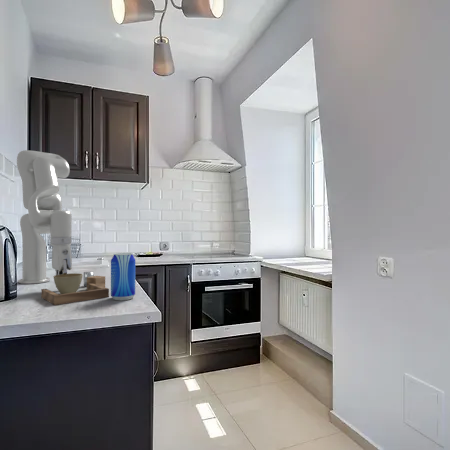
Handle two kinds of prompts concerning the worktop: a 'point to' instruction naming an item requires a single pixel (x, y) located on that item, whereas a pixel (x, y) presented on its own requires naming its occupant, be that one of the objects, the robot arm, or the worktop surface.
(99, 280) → the walnut block
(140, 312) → the worktop surface
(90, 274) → the grey metal cylinder
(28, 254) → the robot arm
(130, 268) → the beer can
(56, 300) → the bay
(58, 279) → the flower pot
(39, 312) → the worktop surface
